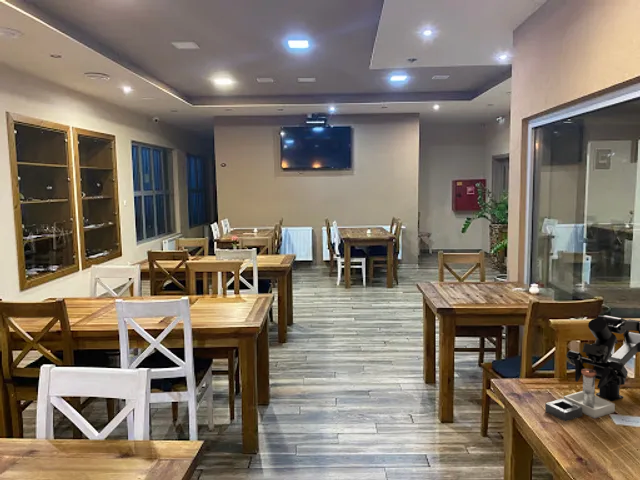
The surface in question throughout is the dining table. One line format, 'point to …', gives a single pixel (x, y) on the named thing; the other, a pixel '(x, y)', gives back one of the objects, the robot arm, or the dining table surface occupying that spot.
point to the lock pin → (589, 387)
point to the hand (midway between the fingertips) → (586, 384)
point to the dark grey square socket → (563, 409)
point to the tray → (599, 410)
